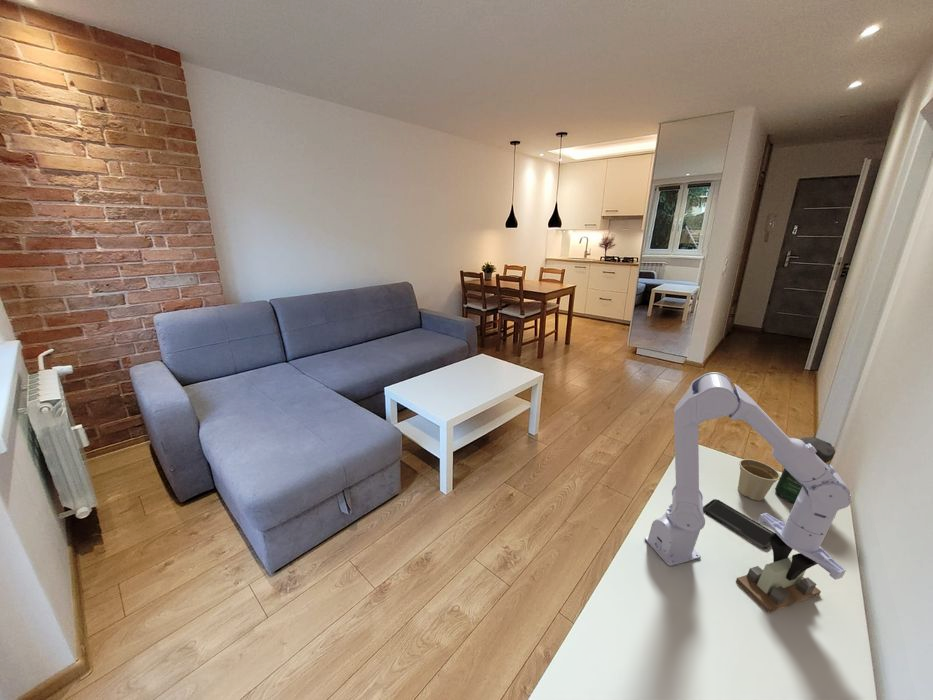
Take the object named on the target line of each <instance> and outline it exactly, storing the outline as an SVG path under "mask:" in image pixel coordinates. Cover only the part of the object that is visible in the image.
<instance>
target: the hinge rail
mask: <svg viewBox="0 0 933 700" xmlns="http://www.w3.org/2000/svg"><path fill="white" fill-rule="evenodd" d="M763 570H764V569H762V568H761V567H760V566H759V565H756V566H753V567H750V568H749V570H748V572H747V574H745V575H741V576H739V577H736V580H735V582H736V583H737V584H738V585H739V586H740V587H741V588H742V589H743V590H744V591H745V592H747V593H748V594H749V595H750V596H751V598H753V599H754V600H755V601H756V602H757V603H758V604H759V605H760V606H761V607H762V608H763V609H764V610H766V612H767V613H771V612H775V611H777V610H781V609H783V608H786V607H788V606H791V605H795V604H797V603H800V602H803V601H805V600H809V599H811V598H814V597H817V596H820V594H821V592H822V591H821V590H820V589H819V588H818V587H816V586H817V583H816V582H815V581H813V580H812V579H811V578H810V577H809V576H808V577H805V576H803V577H802V579H801V580H800V581H799V583H797V584H794V585H791V586H788V587H786V588H783V587H782V586H780V587H777V588H774V589H773V590H772V592H771V593H768V594H766V593H765V592H764V591H762V590H761V589H760V588H759V587H758V586H757V584H758V581H759V579H760V577H761V574H762V572H763Z"/></svg>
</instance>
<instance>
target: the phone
mask: <svg viewBox="0 0 933 700" xmlns="http://www.w3.org/2000/svg"><path fill="white" fill-rule="evenodd" d="M704 513H705V514H706V515H707V516H709V517H711V518H713V519H714V520H715V521H717V522H719V523H720V524H721V525H724V526H725V527H727V528H728V529H730V530H731V531H733V532H735V533H736V534H737V535H739V536H741V537H742V538H743V539H745V540H747V541H748V542H750V543H752V544H753V545H754V546H756V547H758V548H760V549H762V550H766V551H767V550H768V549H769V548H770V547H772V546H771V543H770V541H769V539H770V537H771V536H774V534H775V532H774V531H773V530H772V529H771V530H770V529H769V528H767V527H765V526H764V525H763V524H761V523H760V522H758V521H755V520H753V519H751V518H750V517H749V516H747V515H745V514H743V513H741V512H740V511H738V510H737V509H734V508H733V507H731V506H729V505H728V504H726V503H725V502H723V501H721V500H719V499H716V498H714V499H712V500H710V501H709V502H708V503H706V504H705V505H703V514H704Z"/></svg>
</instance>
